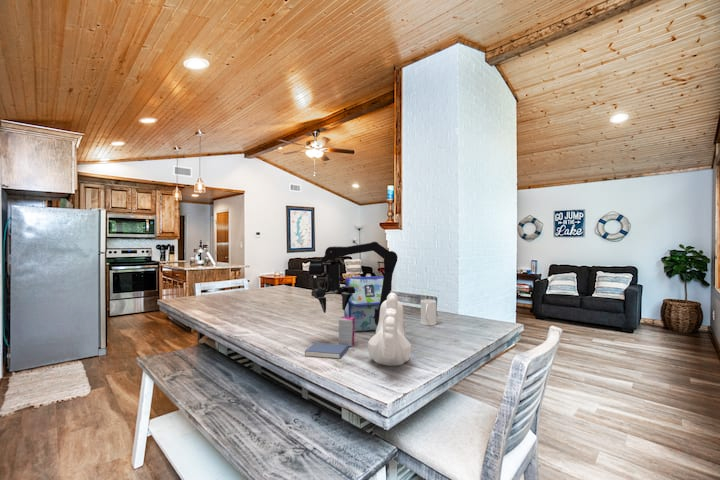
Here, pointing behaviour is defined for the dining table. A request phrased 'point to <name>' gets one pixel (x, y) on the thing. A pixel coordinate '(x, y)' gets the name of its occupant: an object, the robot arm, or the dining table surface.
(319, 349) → the notebook
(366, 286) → the lunch bag
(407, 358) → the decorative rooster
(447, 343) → the dining table surface
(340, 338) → the supplement box
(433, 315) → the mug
